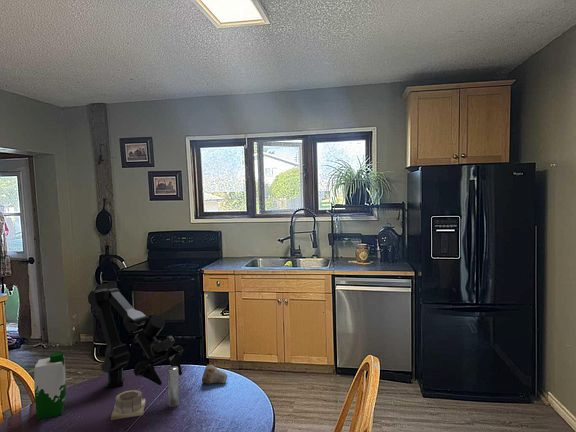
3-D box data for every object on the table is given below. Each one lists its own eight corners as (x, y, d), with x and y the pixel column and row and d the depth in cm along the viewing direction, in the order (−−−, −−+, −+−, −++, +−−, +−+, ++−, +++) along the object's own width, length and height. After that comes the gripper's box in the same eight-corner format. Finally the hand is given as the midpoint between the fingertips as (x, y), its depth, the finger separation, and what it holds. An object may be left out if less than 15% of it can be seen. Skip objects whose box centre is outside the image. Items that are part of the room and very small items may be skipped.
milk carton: (64, 415, 130) (62, 357, 130) (33, 421, 126) (31, 362, 126) (67, 403, 138) (66, 348, 138) (38, 409, 135) (36, 353, 134)
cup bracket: (115, 405, 136) (115, 391, 136) (145, 401, 139) (145, 387, 139) (110, 420, 126) (110, 405, 126) (143, 415, 129) (142, 400, 129)
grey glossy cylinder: (168, 403, 137) (167, 367, 137) (179, 401, 138) (178, 365, 138) (168, 407, 133) (167, 371, 133) (179, 406, 134) (178, 369, 134)
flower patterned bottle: (227, 387, 149) (214, 367, 147) (207, 395, 151) (194, 376, 150) (232, 374, 156) (219, 355, 154) (213, 382, 158) (200, 364, 157)
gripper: (137, 338, 131) (160, 376, 125) (179, 324, 147) (201, 357, 141) (124, 357, 135) (145, 395, 129) (165, 341, 151) (186, 374, 145)
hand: (171, 379), depth 136 cm, fingers open, 9 cm apart
